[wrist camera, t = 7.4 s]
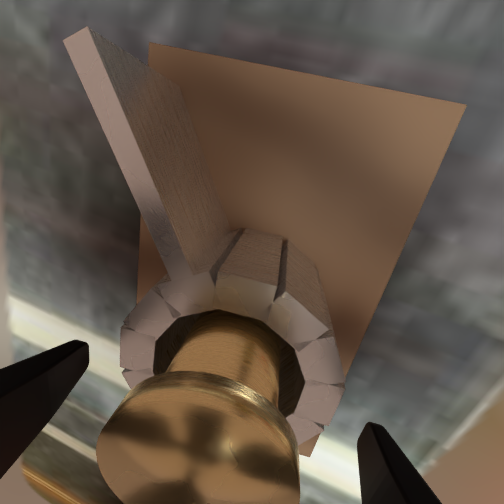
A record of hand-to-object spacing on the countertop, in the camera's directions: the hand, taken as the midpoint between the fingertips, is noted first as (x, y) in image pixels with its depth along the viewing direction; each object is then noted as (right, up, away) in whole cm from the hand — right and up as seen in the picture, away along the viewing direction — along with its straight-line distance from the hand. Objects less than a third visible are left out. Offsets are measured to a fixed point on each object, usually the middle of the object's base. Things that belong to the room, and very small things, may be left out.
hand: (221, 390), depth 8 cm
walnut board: (+1, +2, +6) cm, 6 cm away
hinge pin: (+1, +2, +5) cm, 6 cm away
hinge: (0, +2, +5) cm, 6 cm away
